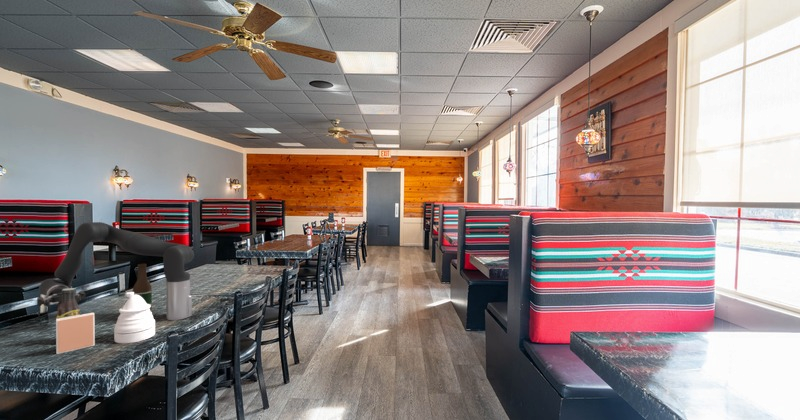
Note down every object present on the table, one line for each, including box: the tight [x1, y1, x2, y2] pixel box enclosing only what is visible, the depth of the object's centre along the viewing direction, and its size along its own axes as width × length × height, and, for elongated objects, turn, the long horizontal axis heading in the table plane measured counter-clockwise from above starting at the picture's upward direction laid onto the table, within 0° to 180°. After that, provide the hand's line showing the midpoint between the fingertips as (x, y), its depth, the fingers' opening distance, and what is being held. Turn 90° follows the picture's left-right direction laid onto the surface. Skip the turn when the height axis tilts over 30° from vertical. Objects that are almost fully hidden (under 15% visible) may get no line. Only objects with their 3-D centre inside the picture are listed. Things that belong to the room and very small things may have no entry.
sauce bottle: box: [56, 287, 80, 319], centre depth 131 cm, size 6×6×20 cm
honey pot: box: [113, 291, 156, 344], centre depth 136 cm, size 13×13×18 cm
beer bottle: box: [132, 263, 153, 313], centre depth 163 cm, size 8×8×24 cm
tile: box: [55, 312, 96, 355], centre depth 124 cm, size 10×2×12 cm, turn 139°
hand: (63, 301), depth 139 cm, fingers open, 8 cm apart
